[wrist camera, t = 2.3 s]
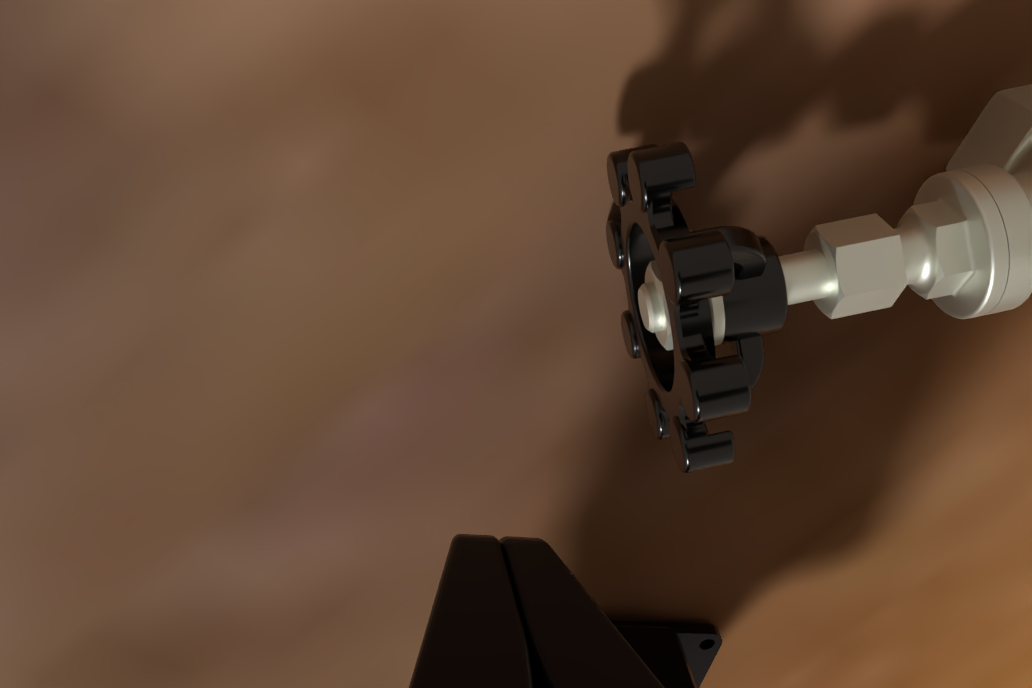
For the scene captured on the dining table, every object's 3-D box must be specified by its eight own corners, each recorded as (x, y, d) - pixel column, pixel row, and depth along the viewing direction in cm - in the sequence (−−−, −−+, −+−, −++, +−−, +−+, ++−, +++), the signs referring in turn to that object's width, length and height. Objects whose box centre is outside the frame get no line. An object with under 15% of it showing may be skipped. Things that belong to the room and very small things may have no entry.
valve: (1143, -14, 19) (592, 94, 18) (1458, 84, 13) (688, 239, 13) (1075, 256, 23) (616, 350, 22) (1301, 416, 17) (699, 545, 17)
